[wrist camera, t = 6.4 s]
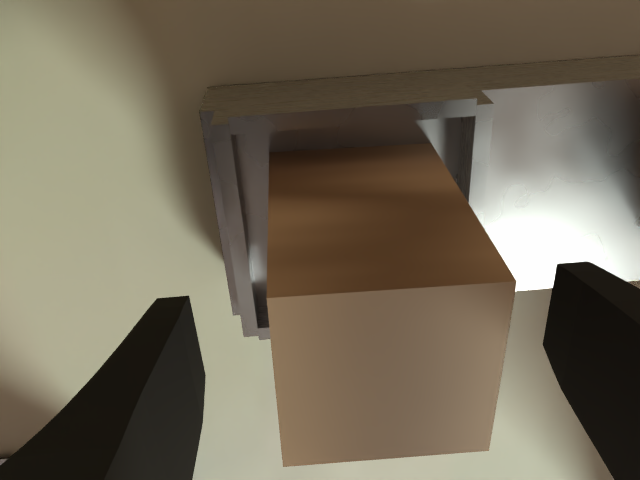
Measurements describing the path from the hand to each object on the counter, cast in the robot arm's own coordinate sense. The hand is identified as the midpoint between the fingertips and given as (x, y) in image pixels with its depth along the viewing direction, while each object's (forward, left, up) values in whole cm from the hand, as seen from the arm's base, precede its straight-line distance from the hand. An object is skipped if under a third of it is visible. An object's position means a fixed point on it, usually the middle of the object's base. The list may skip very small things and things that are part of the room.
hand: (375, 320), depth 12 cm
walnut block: (0, 0, -4) cm, 4 cm away
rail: (+5, 0, -6) cm, 8 cm away
